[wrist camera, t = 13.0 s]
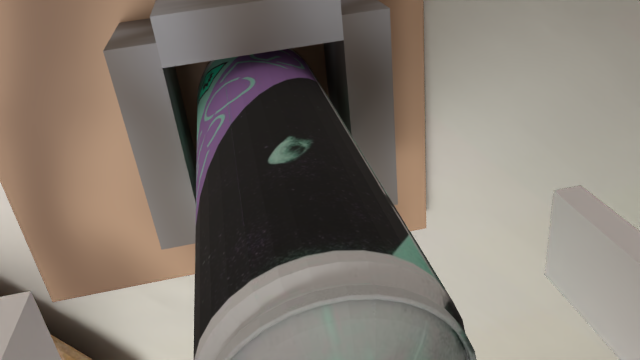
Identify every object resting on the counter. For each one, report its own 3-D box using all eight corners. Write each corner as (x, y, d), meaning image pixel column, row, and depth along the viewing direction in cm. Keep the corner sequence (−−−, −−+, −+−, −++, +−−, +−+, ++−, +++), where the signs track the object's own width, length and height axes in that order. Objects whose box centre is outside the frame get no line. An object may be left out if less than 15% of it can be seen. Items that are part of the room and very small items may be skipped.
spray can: (256, 11, 24) (409, 342, 6) (340, 95, 26) (613, 500, 9) (171, 100, 25) (104, 592, 8) (259, 173, 27) (362, 671, 10)
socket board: (410, -93, 25) (467, -87, 19) (417, 214, 32) (459, 277, 27) (-73, -32, 22) (-156, -5, 17) (59, 284, 30) (29, 368, 25)
